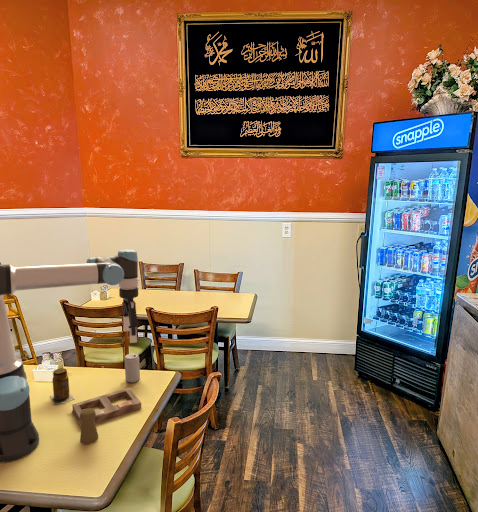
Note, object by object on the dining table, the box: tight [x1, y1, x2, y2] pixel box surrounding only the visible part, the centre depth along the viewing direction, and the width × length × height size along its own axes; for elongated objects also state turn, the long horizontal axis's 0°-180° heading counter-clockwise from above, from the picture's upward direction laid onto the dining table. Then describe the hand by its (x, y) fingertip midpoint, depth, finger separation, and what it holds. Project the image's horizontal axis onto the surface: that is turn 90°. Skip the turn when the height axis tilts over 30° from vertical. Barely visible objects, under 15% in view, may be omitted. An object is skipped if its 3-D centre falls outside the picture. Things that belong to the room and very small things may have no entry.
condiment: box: [50, 367, 75, 406], centre depth 161 cm, size 7×8×12 cm
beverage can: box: [124, 352, 141, 383], centre depth 177 cm, size 6×6×12 cm
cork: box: [79, 407, 99, 446], centre depth 136 cm, size 6×6×11 cm
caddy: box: [71, 387, 142, 426], centre depth 155 cm, size 23×14×3 cm, turn 126°
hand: (130, 336), depth 162 cm, fingers open, 13 cm apart
